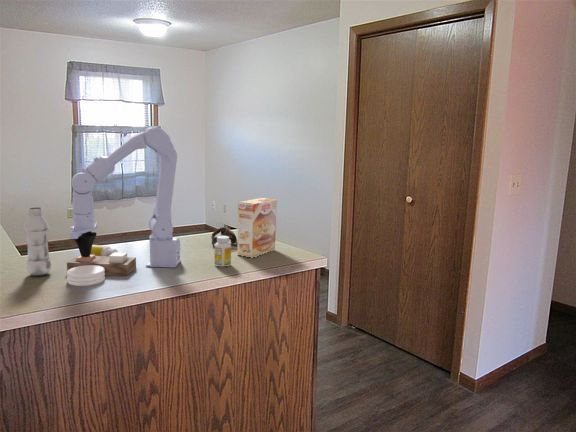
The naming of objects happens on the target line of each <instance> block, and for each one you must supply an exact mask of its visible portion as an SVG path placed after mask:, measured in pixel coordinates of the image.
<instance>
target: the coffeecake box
mask: <svg viewBox="0 0 576 432" xmlns="http://www.w3.org/2000/svg"><path fill="white" fill-rule="evenodd" d="M277 201H278V200H277V199H275V198H269V197H268V198H267V197H259V198H258V197H257V198H253V199H248V200H243V201H238V202H237V203H238V209H237V210H238V211H237V215H238V217H237V220H238V221H237V243H238V246H237V256H238V255H241V256H240V257H243V256H246V257H245V258H247V257H252V258H253V257H255V258H257V257H256V256H258V257H260V256H259V255H261V254H263V255H265V254H264V253H266V254H268V253H267V252H269V253H271V252H273V251H272V250H274V251H275V250H276V235H277V234H276V230H277V229H276V228H277V203H278V202H277ZM270 251H271V252H270ZM261 256H262V255H261ZM252 258H251V259H252ZM253 259H254V258H253Z"/></svg>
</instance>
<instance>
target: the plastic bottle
mask: <svg viewBox="0 0 576 432" xmlns="http://www.w3.org/2000/svg"><path fill="white" fill-rule="evenodd" d="M27 211H28V212H27V214H28V218H27V219H26V220H25V222H24V223H23V230H24V235H25V239H26V245H27V260H26V270H27V273H28V274H29V275H30V276H44V275H48V274H50V272H51V271H52V261H51V257H50V252H49V244H48V243H49V239H48V238H49V226H50V225H49V223H48V220H46V218H45V217H44V216H43V215H44V212H43V207H39V206H38V207H37V206H35V207H29V208H27Z"/></svg>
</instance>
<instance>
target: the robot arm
mask: <svg viewBox="0 0 576 432" xmlns="http://www.w3.org/2000/svg"><path fill="white" fill-rule="evenodd" d="M147 148H149V149H151V150H153V151H154V152H155V153H156V155H157V156H158V157H159V158H160V164H159V171H158V172H159V173H158V180H157V189H156V197H155V206H154V209H153V212H152V216H151V217H150V219H149V220H148V221H149V222H148V228H149V230H150V231H151V234H150V235H149V261H148V263H146V264H145V266H146V267H149V268H150V267H151V268H152V267H155V268H176V267H177V266H178V265H179V264H180V262H181V261H182V260H181V240H180V238H178V237H173V233H174V226H173V224H172V218H173V217H172V210H171V209H172V202H173V201H172V200H173V195H174V194H173V192H174V185H175V179H176V168H177V160H178V153H177V151H176V149H175V147H174V144H173V143H172V141H171V137H170V135H169V134H168V133H167V132H165V130H164V129H162V128H161V127H157V126H156V127H153V126H149V127H147V128H145V129H143V131H140V132H138V133H136V134H134V135H133V136H132V137H130V138H129V139H127V140H126V141H125V142H124V143H123V144H122V145H120V146H119V147H118V148H117V149H115V150H114V151H113V152H112V153H110V154H109V155H108V156H105V155H100V156H99V157H98V156H95V157H94V158H93V161H92V162H91V163H90V164H88V165H87V166H86V167H82V168H80V172H77V173H76V174H74V175H73V177H72V179H71V181H70V183H71V184H70V185H71V187H72V189H73V190H72V212H73V216H72V217H73V226H70V228H69V229H70V230H71V231H70V232H69V239H71V240H74V241H75V243H76V245H77V247H78V251H79V253H80V255H81V256H82V257H89V256H90V254H91V249H92V245H94V241H95V239H96V237H97V234H98V233H97V232H95V230H97V229H99V226H98V225H99V224H98V222H95V208H94V207H95V203H94V197H93V189H94V186H95V185H97V184H99V183H100V182H102V181H103V180H104V179H106V178H107V177H108V176H109V175H111V174H113V172H115V169H116V168H115V167H116V165H117V164H118V163H120V162H121V161H122V160H124V159H125V158H127V157H128V156H129V155H130V154H132V153H134V152H135V151H136V150H142V149H147Z"/></svg>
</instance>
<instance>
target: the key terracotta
mask: <svg viewBox="0 0 576 432" xmlns="http://www.w3.org/2000/svg"><path fill="white" fill-rule="evenodd" d="M78 256H79V257H77V256H76V257H77V258H76V257H75V258H76V260H77V261H78V262H91V261H93V260H94V259H95V255H90V256H89V257H82V256H81V254H80V255H78Z"/></svg>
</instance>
